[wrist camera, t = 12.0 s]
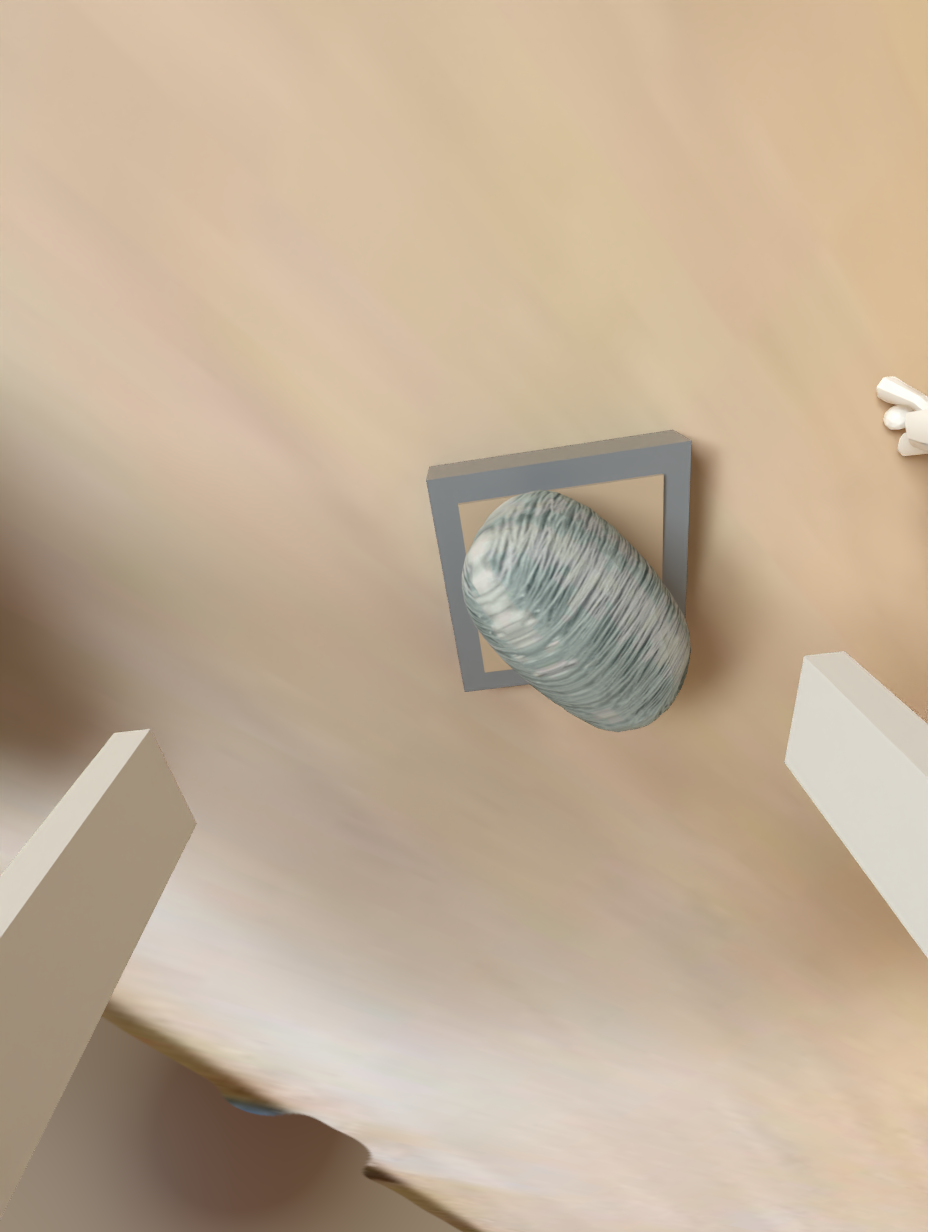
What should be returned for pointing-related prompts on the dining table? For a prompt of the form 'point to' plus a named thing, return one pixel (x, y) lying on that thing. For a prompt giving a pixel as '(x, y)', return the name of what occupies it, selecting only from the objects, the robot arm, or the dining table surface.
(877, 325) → the dining table surface
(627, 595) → the grey streaked ellipsoid
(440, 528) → the stand
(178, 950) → the dining table surface
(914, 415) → the figurine
